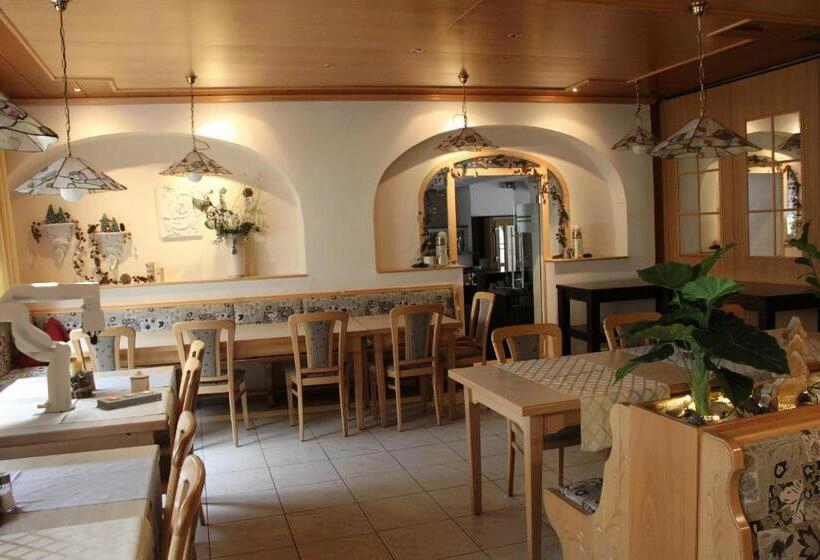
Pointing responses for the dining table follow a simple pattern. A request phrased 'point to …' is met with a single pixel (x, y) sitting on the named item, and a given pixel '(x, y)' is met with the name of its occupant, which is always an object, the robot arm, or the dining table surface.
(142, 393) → the cream button
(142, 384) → the teacup with lid
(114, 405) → the button panel
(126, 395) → the sage button
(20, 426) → the dining table surface
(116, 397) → the terracotta button
